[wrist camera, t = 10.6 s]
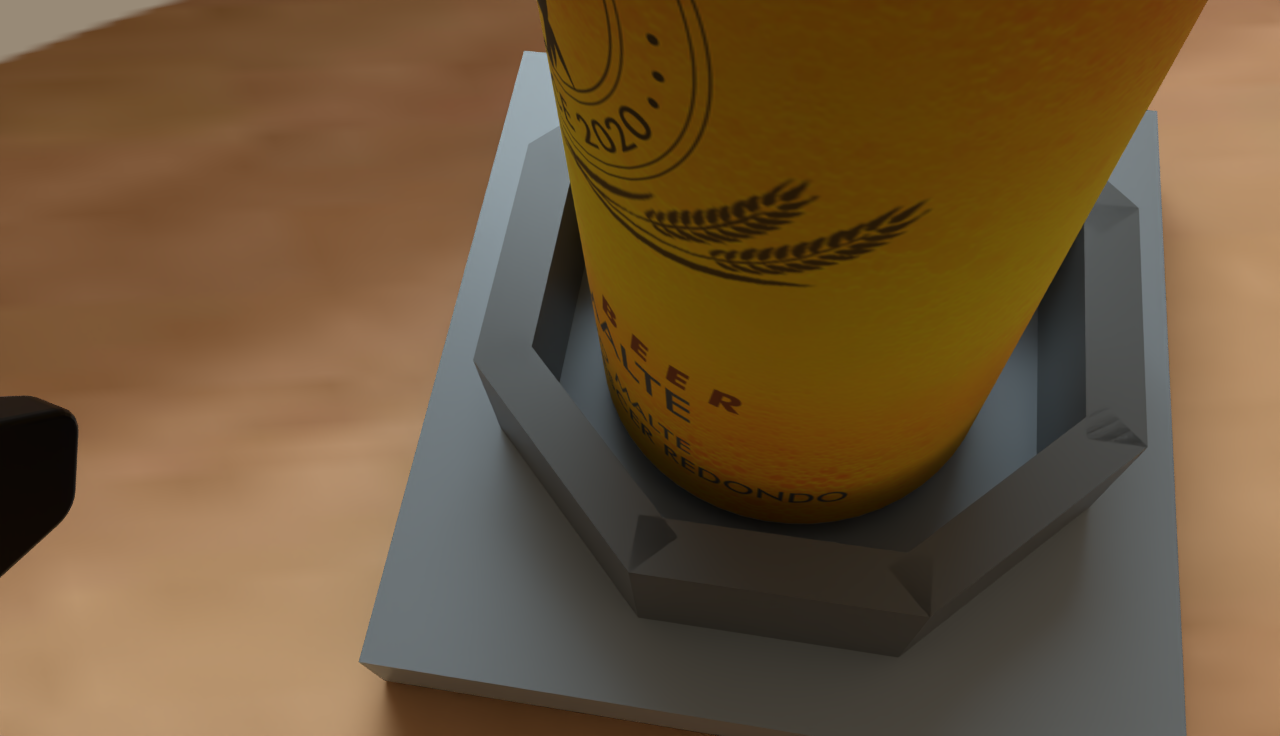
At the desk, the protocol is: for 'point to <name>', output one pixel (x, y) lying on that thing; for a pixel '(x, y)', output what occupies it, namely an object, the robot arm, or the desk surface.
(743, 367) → the beer can
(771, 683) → the collar dock
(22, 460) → the robot arm
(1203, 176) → the desk surface
